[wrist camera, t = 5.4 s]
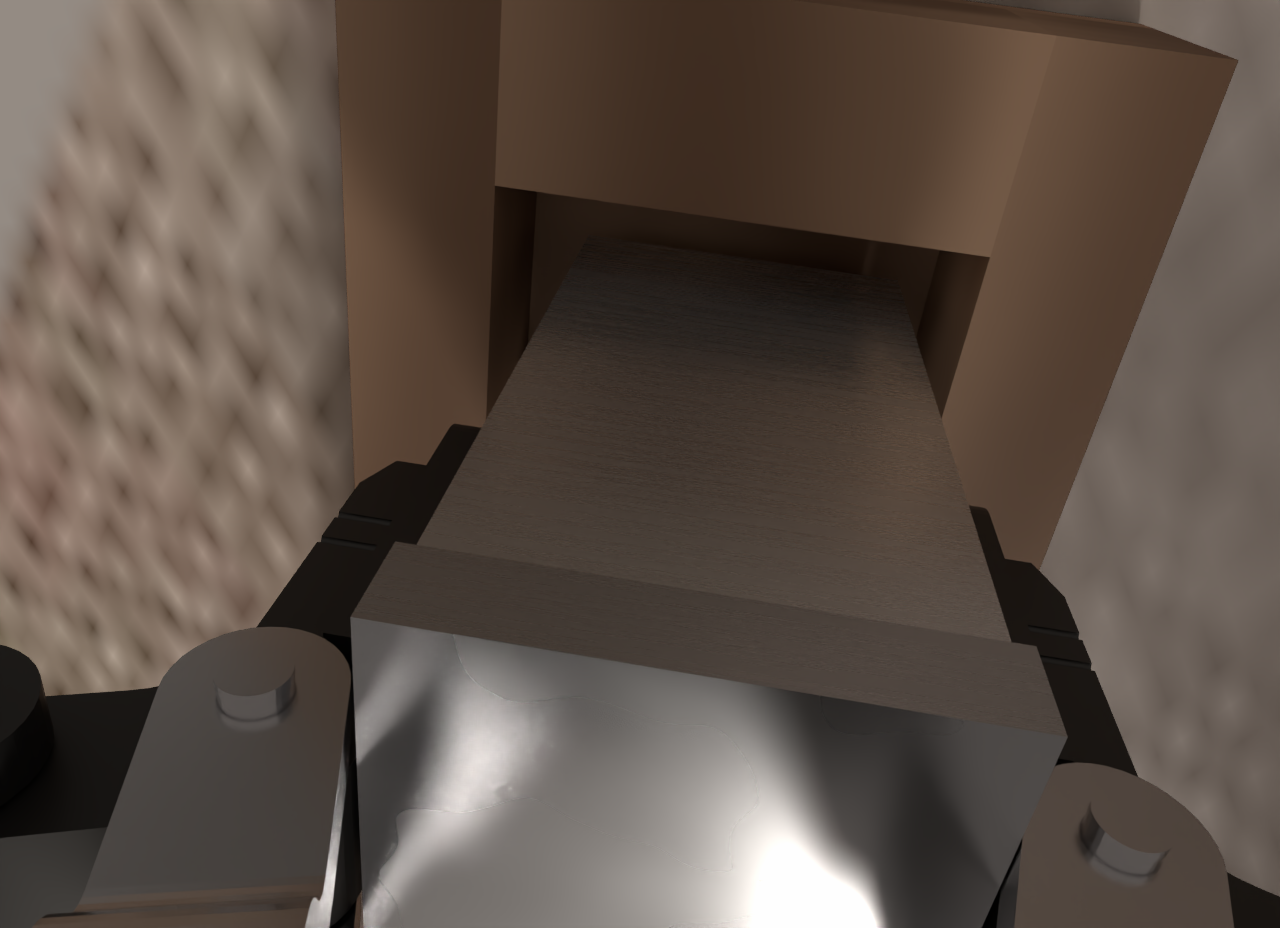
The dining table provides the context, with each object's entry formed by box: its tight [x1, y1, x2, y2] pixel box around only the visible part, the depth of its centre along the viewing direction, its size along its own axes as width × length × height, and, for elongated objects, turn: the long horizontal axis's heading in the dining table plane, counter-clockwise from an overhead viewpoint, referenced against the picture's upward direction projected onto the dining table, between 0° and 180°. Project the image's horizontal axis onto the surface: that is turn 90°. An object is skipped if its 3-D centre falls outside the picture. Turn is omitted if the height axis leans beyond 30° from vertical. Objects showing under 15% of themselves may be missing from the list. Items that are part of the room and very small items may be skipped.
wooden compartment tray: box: [335, 0, 1238, 570], centre depth 18 cm, size 9×26×3 cm, turn 174°
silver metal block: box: [350, 235, 1068, 928], centre depth 10 cm, size 4×4×8 cm
